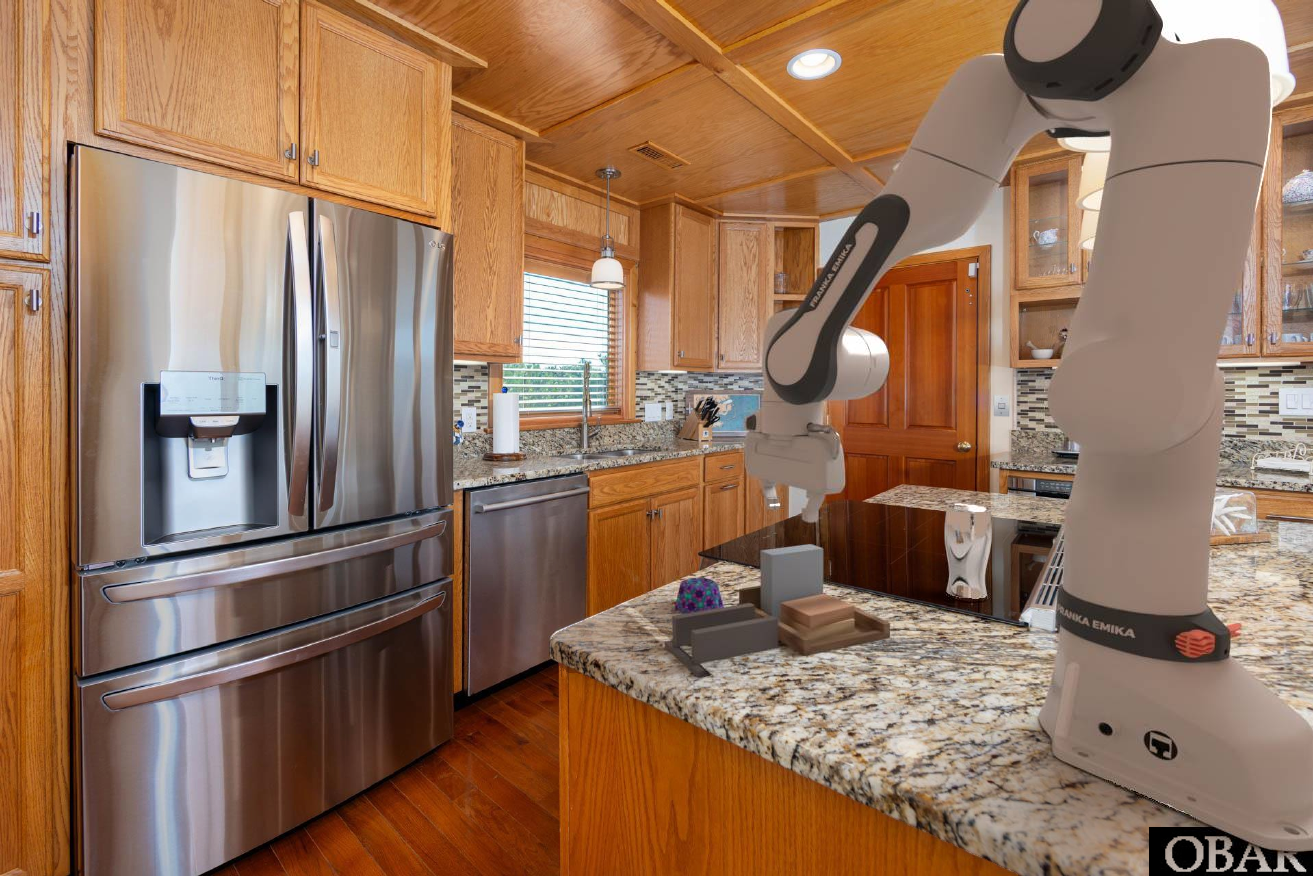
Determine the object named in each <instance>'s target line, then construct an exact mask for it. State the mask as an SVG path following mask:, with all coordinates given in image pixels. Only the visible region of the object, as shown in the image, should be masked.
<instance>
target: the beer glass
mask: <svg viewBox="0 0 1313 876" xmlns="http://www.w3.org/2000/svg"><path fill="white" fill-rule="evenodd" d="M991 510H992V508H991V507H990V506H989V507H988V506H986V505H980V504H974V503H973V504H972V503H951V504H948V505H947V504H946V510H945V520H944V521H945V522H944V545H945V550H946V557H947V562H948V572H949V575H948V576H949V577H948V583H947V586H946V591H945V592H947V593H948V594H950V595H952V596H956V597H959V598H972V599H979V598H985V597H986V596H987V597H988V593H987V589H986V570H987V565H988V562H989V561H988V560H989V556H990V553H991V545H992V538H993V535H992V534H993V529H992V528H993V526H992V522H993V521H992V511H991Z"/></svg>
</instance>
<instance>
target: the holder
mask: <svg viewBox="0 0 1313 876" xmlns="http://www.w3.org/2000/svg"><path fill="white" fill-rule="evenodd" d="M671 621H672V624H671V625H672V632H671V633H672V640H668V641H667V640H666V641H664V649H666V651H668V652H669V653H670V654H671V655H672V656H673V657H674V658H676V660H678V661H679V662H680V663H681V664H682V665H683V666H684V667H686V669H687V670H689V671H690V672H691V673H692V674H693V675H694V676H695V677H697V679H699V678H704V677H709V676H713V674H712V673H711V672H710V671H709V670H708V669H706V668H705V667H704V666H703V665H702V664H706V663H710V662H715V661H719V660H720V661H721V660H725V659H729V658H730V659H731V658H735V657H739V656H745V655H749V654H753V653H758V652H759V653H760V652H765V651H769V650H775V649H778V648H779V640H778V619H777V618H776V617H774V616H771V617H765V618H759V619H755V605H753V604H751V603H747V604H741V605H739V604H737V605H736V604H735V605H730V606H724V607H723V608H717V609H711V610H705V611H699V612H693V613H687V614H683V613H682V614H676V615H672V620H671ZM690 645H691V655H690V654H689V653H688V652H686V651H685V650H684V649H683V648H682V647H686V646H690Z"/></svg>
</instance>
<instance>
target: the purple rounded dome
mask: <svg viewBox="0 0 1313 876" xmlns="http://www.w3.org/2000/svg"><path fill="white" fill-rule="evenodd" d="M676 597H677V598H676V599H675V600H676V601H675V605H674V610H675V611H677V612H681V613H682V614H687V613H693V612H699V611H705V610H711V609H717V608H723V607H725V606H724V602H723V599H722V594H721V591H720V586H719V585H718V583H717V582H716V581H715V580H713V579H710V578H706V577H690V578H688V579H684V580H682V581H681V582H680V584H679V587H678V592H677V596H676Z"/></svg>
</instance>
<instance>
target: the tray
mask: <svg viewBox="0 0 1313 876" xmlns="http://www.w3.org/2000/svg"><path fill="white" fill-rule="evenodd" d="M823 594H826V595H828V594H827V593H825V592H823ZM828 596H830V595H828ZM747 603H751V604H753V605H755V619H759V618H765V617H771V616H770V615H768V614H766V613H765V612H763V611H761V585H756V586H750V587H743V588H739V589H738V605H741V604H747ZM854 619H855V632H853V633H848V634H843V635H838V636H833V637H828V638H823V639H818V640H813V641H811V639H810V638H808V637H806V636H805V635H803V634H801V633H800V632H798V631H796V630H794V629H793V628H791V627H789V626H787V625H786V624H784V623H782V622H780V621H779V620H778V642H779V641H780V643H782V644H784V645H785V646H788V647H789V648H791V649H792V650H794V651H796V652H797V653H799V654H800V655H802V656H803V657H807V656H811V655H816V654H817V655H818V654H821V653H826V652H830V651H835V650H840V649H845V648H849V647H854V646H857V645H864V644H867V643H871V642H872V643H873V642H878V641H882V640H886V639H890V638H891V622H890V621H886V620H884V619H882V618H880V617H878V616H875V615H873V614H871V613H868V612H866V611H864V610H862V609H860V608H858V607H856V606H854Z"/></svg>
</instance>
